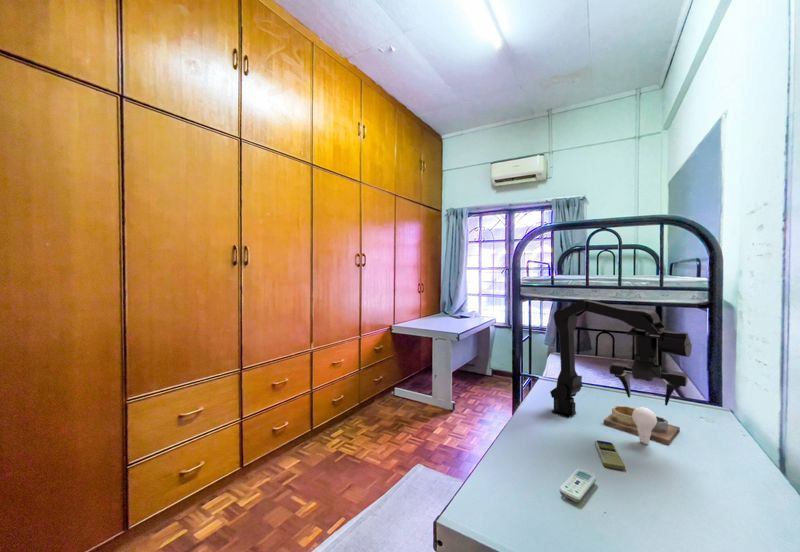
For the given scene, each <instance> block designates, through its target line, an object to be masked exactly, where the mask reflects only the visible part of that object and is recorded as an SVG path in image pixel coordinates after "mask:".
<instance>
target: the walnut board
mask: <svg viewBox="0 0 800 552" xmlns="http://www.w3.org/2000/svg"><path fill="white" fill-rule="evenodd" d="M603 425H605V426H609V427H610V428H615V429H617V430H620V431H624V432H626V433H631V434H633V435H636V436H639V434H638V429H637V426H630V425H627V424H623V423H620V422H617V421H616V420H615V419H614V418H613V417H612V413H611V414H610V415H608V416H607V417H605V418H604V419H603ZM680 430H681V428H680V427H679V426H677V425H673V424H669V423H668V431H667V432H657V431H654V430H652V431H651V436H650V441H651V440H652V441H655V442H659V443H662V444H665V445H668V446H670V445H671V443H672V442H673V441H674V440H675V438H677V436H678V435H679V433H680V432H681V431H680Z"/></svg>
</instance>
